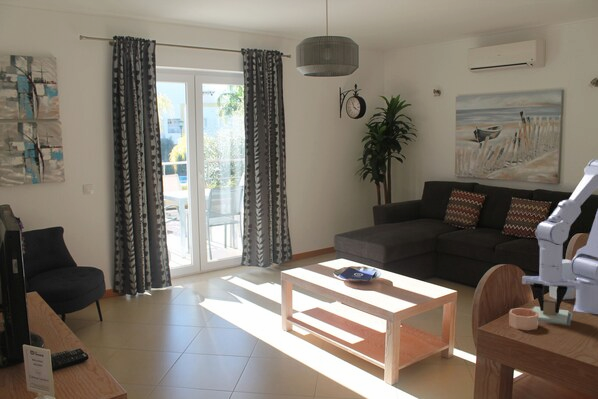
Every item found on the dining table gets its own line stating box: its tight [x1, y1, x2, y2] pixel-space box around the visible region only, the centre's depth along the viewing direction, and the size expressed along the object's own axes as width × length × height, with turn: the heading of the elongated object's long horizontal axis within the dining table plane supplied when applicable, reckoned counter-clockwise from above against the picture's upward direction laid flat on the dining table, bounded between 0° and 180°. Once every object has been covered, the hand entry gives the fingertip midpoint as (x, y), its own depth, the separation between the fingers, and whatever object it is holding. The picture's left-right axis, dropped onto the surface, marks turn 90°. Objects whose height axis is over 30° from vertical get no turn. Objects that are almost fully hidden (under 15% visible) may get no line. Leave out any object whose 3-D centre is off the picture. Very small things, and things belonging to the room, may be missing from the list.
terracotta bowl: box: [508, 307, 539, 331], centre depth 142 cm, size 7×7×4 cm
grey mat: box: [530, 307, 574, 327], centre depth 148 cm, size 11×11×1 cm
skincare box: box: [548, 258, 576, 301], centre depth 163 cm, size 6×4×12 cm
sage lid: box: [533, 298, 570, 324], centre depth 148 cm, size 9×9×4 cm
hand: (549, 310), depth 148 cm, fingers open, 3 cm apart
